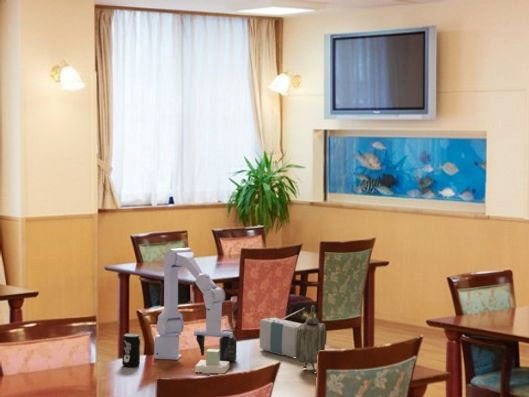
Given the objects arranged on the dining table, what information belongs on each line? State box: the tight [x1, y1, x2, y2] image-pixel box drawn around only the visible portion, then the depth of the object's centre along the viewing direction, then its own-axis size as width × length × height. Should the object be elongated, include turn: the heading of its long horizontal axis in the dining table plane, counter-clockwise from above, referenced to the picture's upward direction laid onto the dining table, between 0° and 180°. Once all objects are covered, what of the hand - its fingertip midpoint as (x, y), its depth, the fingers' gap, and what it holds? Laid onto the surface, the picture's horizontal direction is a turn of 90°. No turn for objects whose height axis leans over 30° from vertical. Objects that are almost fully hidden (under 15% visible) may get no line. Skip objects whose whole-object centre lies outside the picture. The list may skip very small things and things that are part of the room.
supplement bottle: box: [218, 329, 238, 363], centre depth 417 cm, size 7×7×12 cm
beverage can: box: [121, 332, 141, 368], centre depth 403 cm, size 7×7×12 cm
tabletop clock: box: [295, 304, 326, 373], centre depth 405 cm, size 14×9×25 cm, turn 168°
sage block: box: [205, 348, 220, 365], centre depth 400 cm, size 4×4×5 cm
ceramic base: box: [194, 359, 230, 374], centre depth 401 cm, size 11×11×3 cm
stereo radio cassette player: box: [259, 307, 305, 358], centre depth 433 cm, size 21×8×20 cm, turn 42°
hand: (212, 355), depth 400 cm, fingers open, 7 cm apart
